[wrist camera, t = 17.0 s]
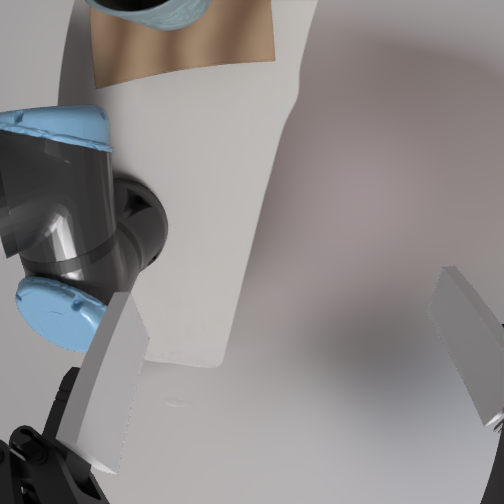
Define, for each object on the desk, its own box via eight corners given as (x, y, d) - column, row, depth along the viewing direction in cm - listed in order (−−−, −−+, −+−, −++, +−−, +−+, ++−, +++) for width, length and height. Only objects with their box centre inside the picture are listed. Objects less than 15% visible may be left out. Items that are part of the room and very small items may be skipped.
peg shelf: (121, 86, 33) (95, 88, 26) (115, -21, 23) (91, -36, 17) (269, 65, 33) (275, 60, 26) (259, -46, 23) (263, -71, 16)
